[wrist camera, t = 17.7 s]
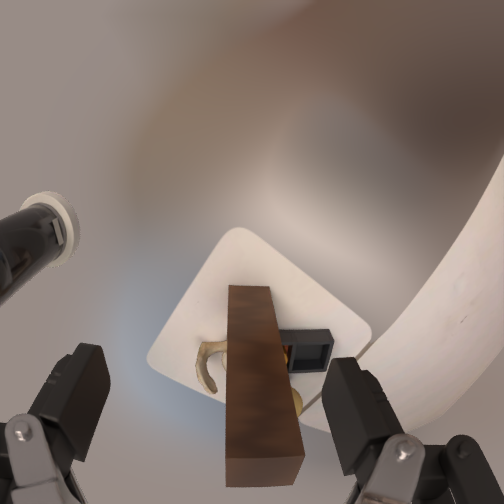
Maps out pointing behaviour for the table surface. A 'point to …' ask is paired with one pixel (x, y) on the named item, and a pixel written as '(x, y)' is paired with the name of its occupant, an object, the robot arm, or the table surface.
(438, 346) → the table surface
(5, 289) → the robot arm
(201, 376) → the bone
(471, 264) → the table surface
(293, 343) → the dark grey open box
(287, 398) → the block
